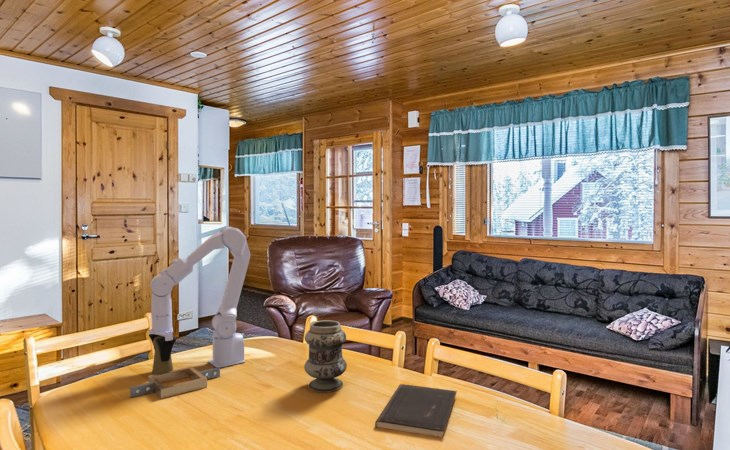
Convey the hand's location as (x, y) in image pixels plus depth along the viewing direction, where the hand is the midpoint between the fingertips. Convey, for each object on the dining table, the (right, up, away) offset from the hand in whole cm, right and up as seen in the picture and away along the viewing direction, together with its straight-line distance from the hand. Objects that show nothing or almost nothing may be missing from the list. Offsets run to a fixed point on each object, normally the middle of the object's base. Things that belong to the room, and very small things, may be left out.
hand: (162, 358), depth 144 cm
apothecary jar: (+51, -5, -10) cm, 52 cm away
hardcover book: (+76, -7, -26) cm, 80 cm away
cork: (0, -4, 0) cm, 4 cm away
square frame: (+9, -5, -11) cm, 15 cm away
